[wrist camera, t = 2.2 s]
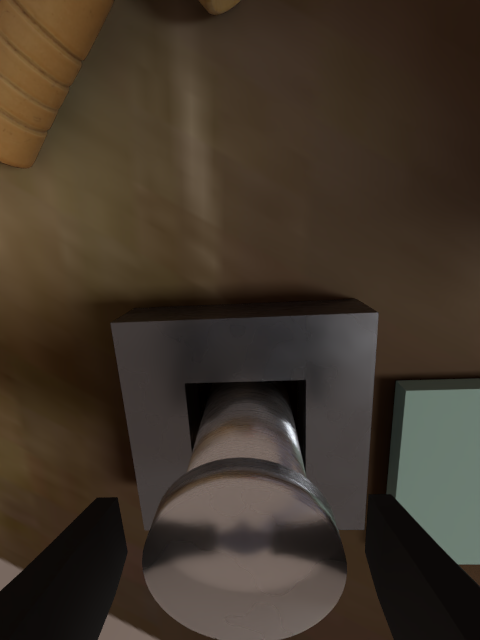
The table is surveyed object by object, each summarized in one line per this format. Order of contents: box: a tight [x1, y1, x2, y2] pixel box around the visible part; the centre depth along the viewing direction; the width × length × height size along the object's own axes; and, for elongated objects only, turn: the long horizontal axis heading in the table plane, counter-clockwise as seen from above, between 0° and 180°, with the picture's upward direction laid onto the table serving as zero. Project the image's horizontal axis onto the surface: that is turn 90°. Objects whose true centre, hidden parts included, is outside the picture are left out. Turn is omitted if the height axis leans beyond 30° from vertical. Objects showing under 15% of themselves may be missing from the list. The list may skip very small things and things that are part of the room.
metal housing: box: [111, 299, 378, 530], centre depth 14 cm, size 10×10×2 cm
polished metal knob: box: [142, 381, 347, 640], centre depth 12 cm, size 5×5×8 cm
